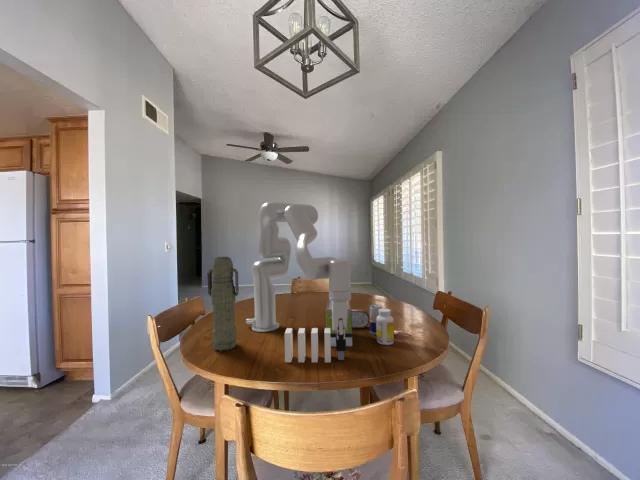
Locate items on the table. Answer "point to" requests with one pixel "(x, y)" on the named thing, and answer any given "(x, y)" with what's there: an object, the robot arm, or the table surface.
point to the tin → (360, 318)
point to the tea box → (333, 333)
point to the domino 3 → (314, 344)
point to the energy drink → (373, 317)
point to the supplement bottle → (385, 327)
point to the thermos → (223, 302)
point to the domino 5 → (340, 353)
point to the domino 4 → (327, 345)
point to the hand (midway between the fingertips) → (340, 346)
